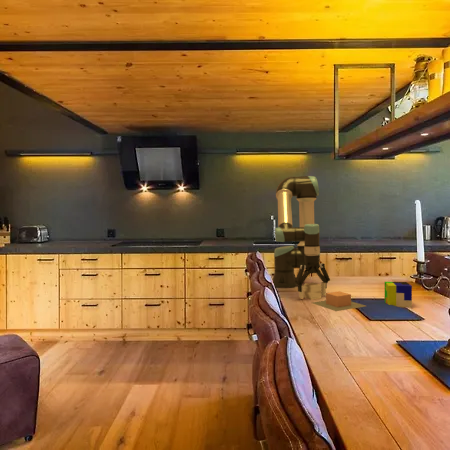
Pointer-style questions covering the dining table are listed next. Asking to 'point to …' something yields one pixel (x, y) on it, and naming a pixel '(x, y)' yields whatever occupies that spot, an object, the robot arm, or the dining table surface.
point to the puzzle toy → (398, 294)
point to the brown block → (312, 291)
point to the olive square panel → (353, 305)
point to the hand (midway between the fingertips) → (312, 296)
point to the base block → (338, 299)
